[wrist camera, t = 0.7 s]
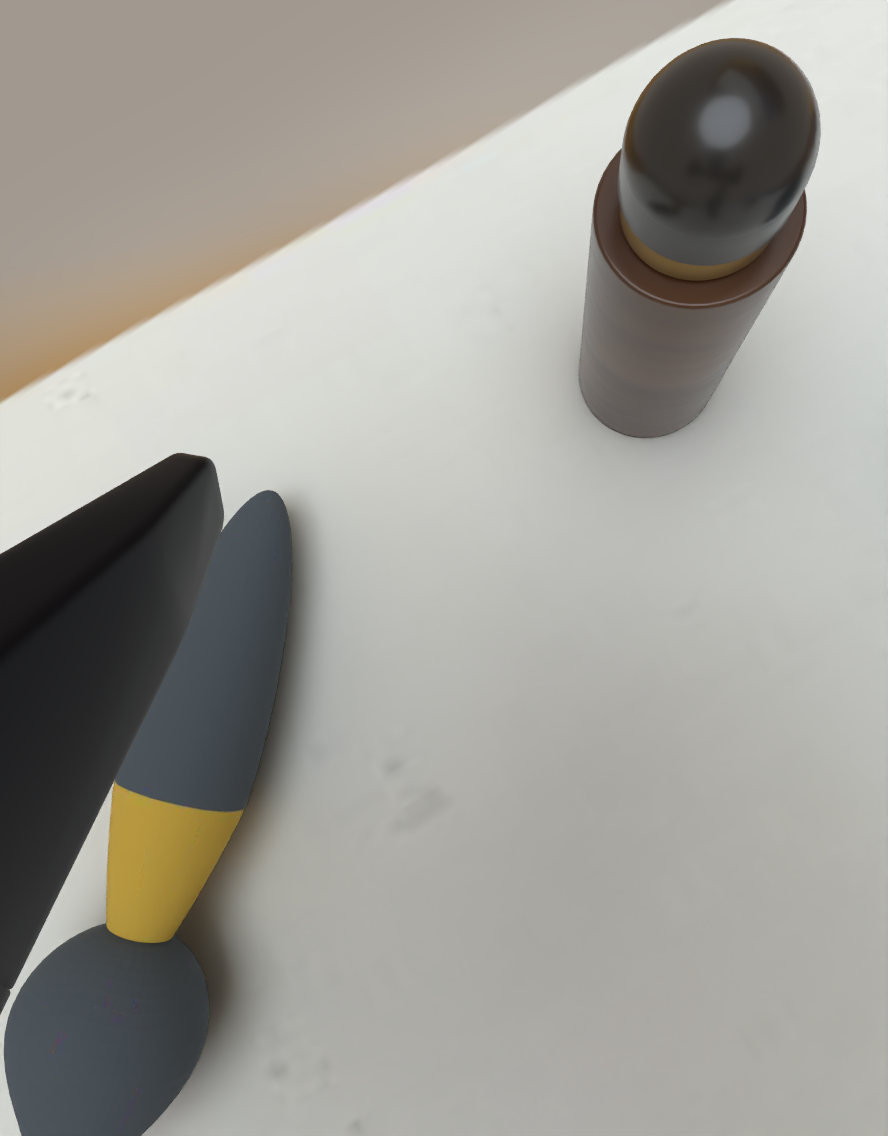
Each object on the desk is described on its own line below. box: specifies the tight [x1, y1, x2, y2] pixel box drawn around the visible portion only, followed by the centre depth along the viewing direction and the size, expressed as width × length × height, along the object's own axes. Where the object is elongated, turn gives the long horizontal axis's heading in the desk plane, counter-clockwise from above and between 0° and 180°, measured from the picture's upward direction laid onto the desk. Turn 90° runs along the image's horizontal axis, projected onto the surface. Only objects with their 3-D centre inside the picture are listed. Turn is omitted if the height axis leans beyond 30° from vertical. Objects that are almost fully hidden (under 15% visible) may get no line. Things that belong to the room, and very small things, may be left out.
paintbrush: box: [4, 490, 292, 1136], centre depth 22 cm, size 20×5×5 cm, turn 171°
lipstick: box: [579, 38, 821, 438], centre depth 18 cm, size 4×4×12 cm
